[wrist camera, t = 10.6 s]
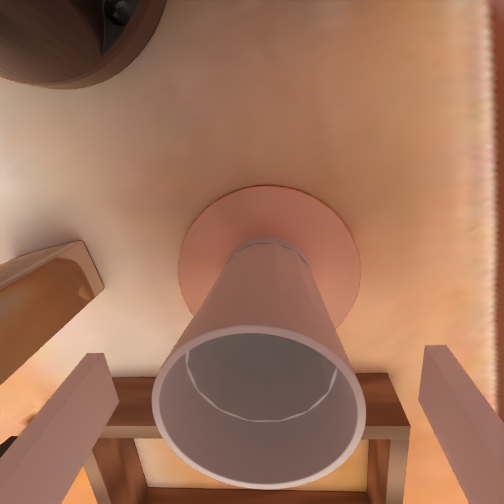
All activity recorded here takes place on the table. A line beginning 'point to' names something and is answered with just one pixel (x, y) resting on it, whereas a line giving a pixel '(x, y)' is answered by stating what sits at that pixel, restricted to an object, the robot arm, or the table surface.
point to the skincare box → (42, 299)
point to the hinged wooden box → (226, 500)
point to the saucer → (275, 225)
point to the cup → (261, 377)
